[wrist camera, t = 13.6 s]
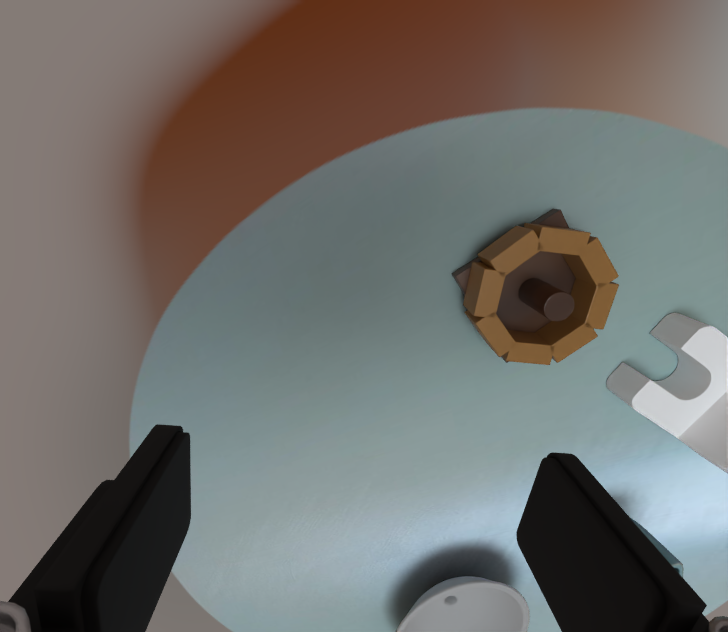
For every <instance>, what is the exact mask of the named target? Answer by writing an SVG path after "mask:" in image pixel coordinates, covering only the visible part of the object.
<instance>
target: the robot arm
mask: <svg viewBox="0 0 728 632" xmlns="http://www.w3.org/2000/svg"><path fill="white" fill-rule="evenodd" d="M190 519H191V483H190V435H189V433H184V432H183V429H182V427H181V426H172V425H155V426H154V427H153V429H152V430H151V431H150V433H149V434H148V435H147V437H146V438H145V439H144V441H143V442H142V444H141V445H140V446H139V448H138V449H137V450H136V452H135V453H134V454H133V456H132V457H131V458H130V460H129V461H128V462H127V464H126V465H125V467H124V468H123V469H122V470H121V472H120V473H119V475H118V476H117V478H116V479H115V480H106V481H104V482H102V483H101V484H100V485H99V486H98V487H97V488H96V490H95V491H94V492H93V493H92V495H91V496H90V497H89V499H88V500H87V501H86V502H85V504H84V505H83V506H82V508H81V509H80V510H79V511H78V513H77V514H76V515H75V517H74V518H73V519H72V521H71V522H70V523H69V524H68V526H67V527H66V528H65V530H64V531H63V532H62V533H61V535H60V536H59V537H58V538H57V540H56V541H55V542H54V544H53V545H52V546H51V547H50V549H49V550H48V551H47V552H46V554H45V555H44V556H43V558H42V559H41V560H40V562H39V563H38V564H37V565H36V567H35V568H34V569H33V570H32V572H31V573H30V574H29V576H28V577H27V578H26V579H25V581H24V582H23V583H22V585H21V586H20V587H19V588H18V590H17V591H16V592H15V594H14V595H13V596H12V597H11V599H10V600H9V601H8V602H2V601H1V602H0V632H145V631H146V629H147V626H148V624H149V622H150V619H151V617H152V614H153V612H154V610H155V607H156V605H157V603H158V600H159V598H160V595H161V593H162V591H163V588H164V586H165V583H166V581H167V579H168V577H169V574H170V572H171V569H172V567H173V565H174V562H175V560H176V558H177V555H178V553H179V551H180V548H181V546H182V543H183V541H184V539H185V536H186V534H187V531H188V528H189V524H190ZM517 542H518V545H519V547H520V549H521V551H522V553H523V555H524V557H525V559H526V561H527V563H528V565H529V567H530V569H531V571H532V573H533V575H534V577H535V579H536V581H537V583H538V585H539V587H540V589H541V591H542V593H543V595H544V597H545V599H546V601H547V603H548V605H549V607H550V609H551V611H552V613H553V615H554V617H555V619H556V621H557V623H558V625H559V627H560V629H561V631H562V632H728V617H725V616H722V617H714V618H713V619H712V620H711V621H710V622H709V621H708V620H707V619H706V618H705V616H704V615H703V614H702V612H703V611H704V609H705V607H706V606H707V605H706V604H705V603H704V602H703V600H702V599H701V598H700V597H699V596H698V595H697V594H696V592H695V591H694V590H693V589H692V588H691V587H690V586H689V584H688V583H687V582H686V581H685V580H684V579H683V578H682V577H681V575H680V574H679V573H678V572H677V571H676V570H675V569H674V567H673V566H672V565H671V564H670V563H669V562H668V561H667V559H666V558H665V557H664V556H663V555H662V554H661V553H660V551H659V550H658V549H657V548H656V547H655V546H654V545H653V543H652V542H651V541H650V540H649V539H648V538H647V537H646V535H645V534H644V533H643V532H642V531H641V530H640V529H639V528H638V526H637V525H636V524H635V523H634V522H633V521H632V520H631V518H630V517H629V516H628V515H627V514H626V513H625V512H624V510H623V509H622V508H621V507H620V506H619V505H618V504H617V502H616V501H615V500H614V499H613V498H612V497H611V496H610V494H609V493H608V492H607V491H606V490H605V489H604V488H603V486H602V485H601V484H600V483H599V482H598V481H597V480H596V478H595V477H594V476H593V475H592V474H591V473H590V472H589V471H588V469H587V468H586V467H585V466H584V465H583V464H582V463H581V461H580V460H579V459H578V458H577V457H576V456H575V455H573V454H566V453H550V454H549V455H548V456H547V458H544V459H542V461H541V464H540V467H539V470H538V472H537V475H536V478H535V481H534V484H533V487H532V490H531V492H530V495H529V498H528V501H527V504H526V507H525V509H524V512H523V515H522V518H521V521H520V524H519V527H518V529H517Z"/></svg>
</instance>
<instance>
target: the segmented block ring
mask: <svg viewBox="0 0 728 632" xmlns="http://www.w3.org/2000/svg"><path fill="white" fill-rule="evenodd" d="M590 234H591V233H589V232H584V231H579V230H574V229H569V228H561V227H553V226H545V225H538V224H530V223H525V224H524V227H520V226H515V227H514V228H512V229H511V230H510V231H508V232H507V233H506V234H504V235H503V236H502V237H500V238H499V239H498V240H496V241H495V242H493V243H492V244H491V245H489V246H488V247H487V248H485V249H484V250H483V251H481V252H480V253H479V254H478V257H479V258H480V259H481V261H482V262H483V263H481V262H472V266H471V271H470V275H469V280H468V284H467V289H466V294H465V298H464V303H463V305H464V306H465V307H466V308H467V309H468V310H467V311H466V312H465V314H466V315H467V317H468V318H469V319H470V321H471V322H472V324H473V325H474V326H475V328H476V329H477V330H478V332H479V333H480V335H481V336H482V337H483V339H484V340H485V341H486V343H487V344H488V345H489V346H490V347H491V348H492V350H493V351H494V352H495V353H496V354H497V355H498V356H499V357H501V356H502V357H503V358H504V359H505V360H506V361H513V362H523V363H534V364H545V365H550V362H551V359H554V360H555V361H556V362H557V363H558V362H560V361H561V360H563V359H564V358H566V357H567V356H569V355H570V354H572V353H573V352H575V351H576V350H578V349H579V348H581V347H582V346H584V345H585V344H587V343H588V342H590V341H592V340H593V339H595V338H596V337H598V336H597V334H596V332H595V331H594V329H593V328H595V329H604V326H605V323H606V320H607V317H608V315H609V312H610V309H611V306H612V303H613V300H614V297H615V295H616V292H617V289H618V286H619V284H616V283H614V282H611V281H613V280H614V279H616V278H617V277H618V274H617V272H616V270H615V269H614V267H613V265H612V263H611V261H610V259H609V258H608V256H607V254H606V252H605V250H604V249H603V247H602V245H601V243H600V241H599V239H598V238H597V237H592V236H590ZM539 251H544V252H553V253H561V254H562V256H563V257H564V259H565V261H566V262H567V264H568V266H569V267H570V269H571V271H572V272H573V274H574V276H575V278H576V279H575V282H574V285H573V288H572V291H571V296H572V297H573V299H574V309H573V311H572V313H571V314H570V315H569V316H568V317H567V318H566V319H564V320H562V321H551V322H550V323H548V324H547V325H545V326H544V327H542V328H541V329H539V330H538V331H536V332H535V333H534V332H524V331H515V330H507V329H506V328H505V326H504V325H503V323H502V322H501V320H500V319H499V318H498V316H497V315H496V312H497V308H498V304H499V300H500V296H501V292H502V288H503V284H504V280H505V276H506V275H507V274H509V273H510V272H511V271H513V270H514V269H516V268H517V267H518V266H520V265H521V264H523V263H524V262H525V261H527V260H528V259H530V258H531V257H532V256H534V255H535V254H536V253H538V252H539Z"/></svg>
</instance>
